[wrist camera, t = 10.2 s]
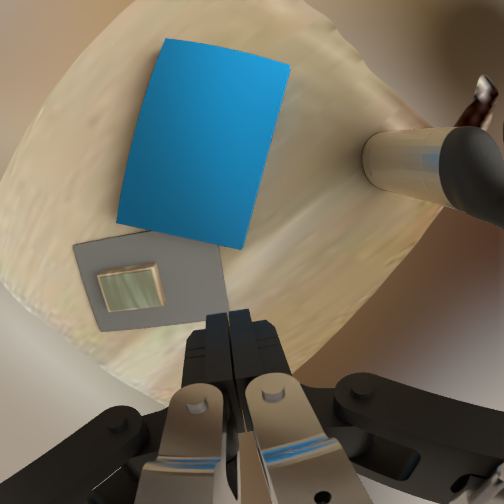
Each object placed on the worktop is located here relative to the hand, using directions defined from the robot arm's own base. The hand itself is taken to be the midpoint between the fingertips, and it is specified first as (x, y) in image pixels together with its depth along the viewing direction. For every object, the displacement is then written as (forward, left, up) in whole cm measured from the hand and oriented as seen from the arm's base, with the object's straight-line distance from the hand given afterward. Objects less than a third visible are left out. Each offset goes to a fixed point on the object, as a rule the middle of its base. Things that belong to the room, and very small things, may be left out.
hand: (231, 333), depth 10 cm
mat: (+12, +10, -31) cm, 35 cm away
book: (+1, -9, -31) cm, 32 cm away
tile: (+10, +10, -29) cm, 33 cm away
